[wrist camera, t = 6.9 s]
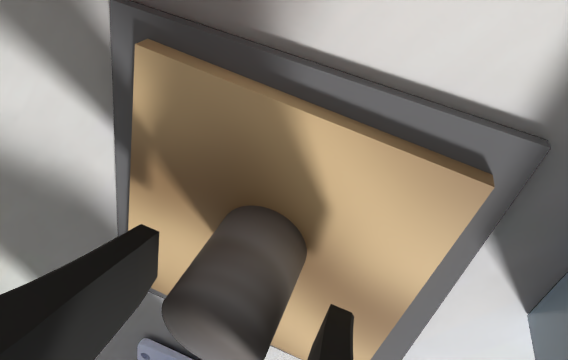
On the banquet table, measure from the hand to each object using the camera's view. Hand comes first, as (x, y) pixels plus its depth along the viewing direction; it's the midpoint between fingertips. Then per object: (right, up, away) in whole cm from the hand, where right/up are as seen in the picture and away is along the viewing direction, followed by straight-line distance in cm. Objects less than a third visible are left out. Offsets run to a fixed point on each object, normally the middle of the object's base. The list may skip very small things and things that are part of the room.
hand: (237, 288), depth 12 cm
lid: (+1, +1, +2) cm, 3 cm away
